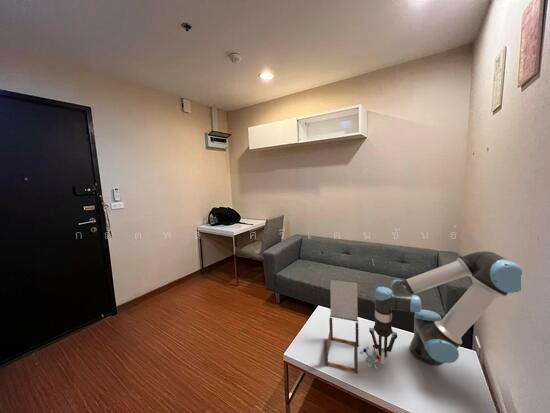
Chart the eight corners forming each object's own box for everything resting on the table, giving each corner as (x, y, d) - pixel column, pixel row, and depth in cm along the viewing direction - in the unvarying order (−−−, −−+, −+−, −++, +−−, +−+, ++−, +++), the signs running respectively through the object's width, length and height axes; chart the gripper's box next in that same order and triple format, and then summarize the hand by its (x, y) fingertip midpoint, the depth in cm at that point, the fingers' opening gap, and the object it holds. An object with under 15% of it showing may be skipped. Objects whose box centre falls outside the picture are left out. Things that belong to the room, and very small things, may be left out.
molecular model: (388, 367, 107) (376, 346, 110) (370, 375, 109) (359, 353, 112) (385, 356, 117) (374, 337, 120) (369, 363, 119) (358, 344, 122)
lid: (358, 322, 126) (358, 321, 127) (358, 283, 126) (358, 283, 127) (329, 317, 132) (329, 316, 133) (329, 280, 132) (329, 280, 133)
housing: (358, 344, 127) (358, 322, 126) (357, 373, 108) (357, 348, 107) (330, 338, 133) (329, 317, 132) (324, 365, 114) (324, 341, 113)
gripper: (396, 316, 111) (395, 359, 114) (368, 312, 116) (368, 353, 119) (399, 325, 104) (398, 371, 107) (369, 320, 109) (368, 364, 112)
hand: (382, 361), depth 113 cm, fingers closed
